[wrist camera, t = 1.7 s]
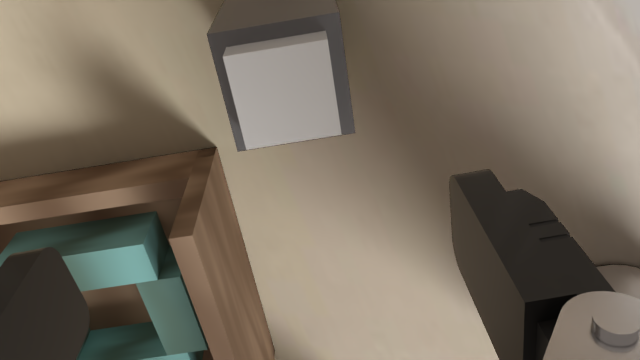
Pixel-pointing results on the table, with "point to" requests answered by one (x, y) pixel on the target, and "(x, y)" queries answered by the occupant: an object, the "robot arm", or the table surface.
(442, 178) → the table surface
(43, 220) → the walled box
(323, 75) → the block
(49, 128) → the table surface
